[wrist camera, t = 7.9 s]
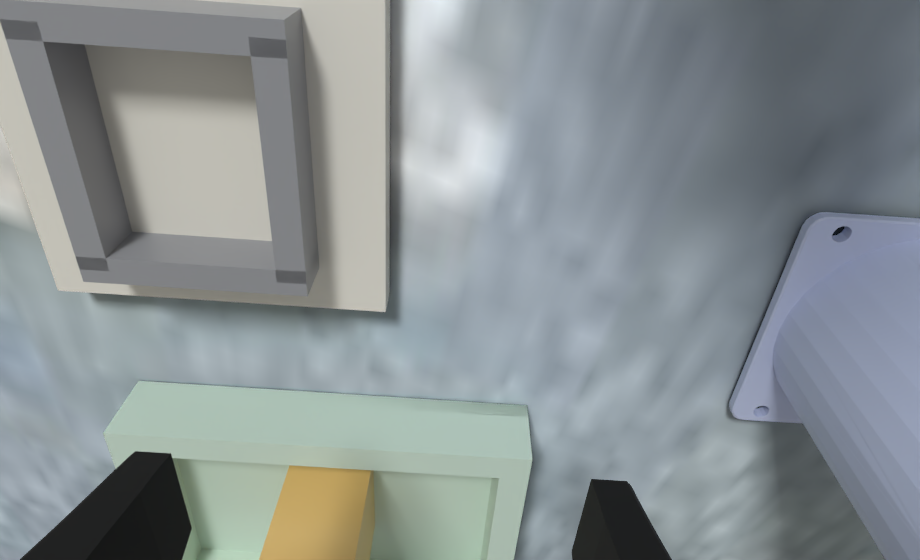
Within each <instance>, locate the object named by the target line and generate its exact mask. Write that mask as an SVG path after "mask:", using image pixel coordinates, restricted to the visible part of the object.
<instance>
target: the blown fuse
mask: <svg viewBox="0 0 920 560" xmlns="http://www.w3.org/2000/svg"><path fill="white" fill-rule="evenodd" d="M374 528H375V503H374V470H358V469H342V468H325V467H309V466H293V465H289V468H288V471H287V474H286V477H285V480H284V484H283V487H282V490H281V493H280V496H279V499H278V502H277V505H276V508H275V511H274V515H273V518H272V521H271V524H270V527H269V530H268V533H267V536H266V539H265V542H264V546H263V549H262V552H261V555H260V558H259V560H370V553H371V547H372V541H373V535H374Z"/></svg>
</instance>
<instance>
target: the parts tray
mask: <svg viewBox="0 0 920 560" xmlns="http://www.w3.org/2000/svg"><path fill="white" fill-rule="evenodd" d="M103 435H104V437H105V440H106V443H107V446H108V449H109V451H110V454H111V457H112V460H113V463H114V465H115V468H117V467H118V466H120V465H121V464H122V463H123V462H124V461H125V460H126V459H127V458H128V457H129V456H130V455H131V454H133V453H134V452H135V451H140V452H156V453H171V455H172V458H173V462H174V466H175V469H176V473H177V476H178V480H179V484H180V487H181V491H182V494H183V498H184V502H185V505H186V509H187V512H188V516H189V519H190V523H191V527H192V530H191V533H190V536H189V539H188V542H187V546H186V549H185V552H184V555H183V558H182V560H259V558H260V555H261V552H262V549H263V546H264V542H265V539H266V536H267V533H268V530H269V527H270V524H271V521H272V518H273V515H274V511H275V508H276V505H277V502H278V499H279V496H280V493H281V490H282V487H283V484H284V480H285V477H286V474H287V471H288V468H289V465H293V466H309V467H325V468H342V469H358V470H374V503H375V528H374V535H373V541H372V547H371V553H370V560H514V555H515V550H516V545H517V539H518V534H519V529H520V523H521V518H522V513H523V507H524V502H525V497H526V491H527V486H528V481H529V476H530V470H531V465H532V450H531V440H530V429H529V419H528V409H527V405H511V404H495V403H480V402H464V401H448V400H432V399H416V398H401V397H385V396H369V395H353V394H337V393H322V392H306V391H290V390H274V389H258V388H243V387H227V386H211V385H195V384H179V383H164V382H148V381H138V383H137V384H136V386H135V387H134V388H133V390H132V391H131V393H130V394H129V396H128V397H127V399H126V400H125V402H124V403H123V405H122V406H121V408H120V409H119V411H118V412H117V413H116V415H115V416H114V418H113V419H112V421H111V422H110V424H109V425H108V427H107V428H106V430H105V431H104V433H103Z"/></svg>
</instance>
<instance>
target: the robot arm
mask: <svg viewBox="0 0 920 560" xmlns="http://www.w3.org/2000/svg"><path fill="white" fill-rule="evenodd" d="M842 226H845V227H844V229H843V231H842V232H841V233H839V234H838V235H834V236H832V235H833V233H834V231H835V230H836V229H838V228H839V227H842ZM759 406H762V407H760V408H757V407H759ZM729 408H730V410H731V412H732V414H733V416H734V417H735V418H737V419H741V420H754V421H770V422H786V423H802V424H803V425H804V426H805V428H806V430H807V431H808V433H809V435H810V436H811V438H812V439H813V441H814V443H815V444H816V446H817V448H818V449H819V451H820V453H821V454H822V456H823V458H824V459H825V461H826V463H827V464H828V466H829V468H830V469H831V471H832V473H833V474H834V476H835V477H836V479H837V481H838V482H839V484H840V486H841V487H842V489H843V491H844V492H845V494H846V496H847V497H848V499H849V501H850V502H851V504H852V506H853V507H854V509H855V510H856V512H857V514H858V515H859V517H860V519H861V520H862V522H863V524H864V525H865V527H866V529H867V530H868V532H869V534H870V535H871V537H872V539H873V540H874V542H875V544H876V545H877V547H878V548H879V550H880V552H881V553H882V555H883V557H884V558H885V560H920V218H907V217H892V216H877V215H863V214H848V213H834V212H820V213H817V214H814V215H812V216H810V217H809V218H808V219H807V220H806V221H805V222H804V224H803V225H802V227H801V230H800V232H799V235H798V237H797V239H796V242H795V244H794V247H793V249H792V252H791V254H790V256H789V259H788V261H787V264H786V266H785V269H784V271H783V273H782V276H781V278H780V281H779V283H778V285H777V288H776V290H775V293H774V295H773V298H772V300H771V302H770V305H769V307H768V310H767V312H766V315H765V317H764V319H763V322H762V324H761V327H760V329H759V332H758V334H757V336H756V339H755V341H754V344H753V346H752V349H751V351H750V353H749V356H748V358H747V361H746V363H745V365H744V368H743V370H742V373H741V375H740V378H739V380H738V382H737V385H736V387H735V390H734V392H733V395H732V397H731V399H730V402H729ZM191 530H192V527H191V523H190V519H189V516H188V512H187V509H186V505H185V502H184V498H183V494H182V491H181V487H180V484H179V480H178V476H177V473H176V469H175V466H174V462H173V458H172V455H171V453H156V452H140V451H135V452H134V453H133V454H131V455H130V456H129V457H128V458H127V459H126V460H125V461H124V462H123V463H122V464H121V465H120V466H118V467H117V468H116V469H115V470H114V471H113V472H112V473H111V474H110V475H109V476H108V477H107V478H106V479H105V480H104V481H103V482H102V483H101V484H100V485H99V486H98V487H97V488H96V489H95V490H94V491H93V492H91V493H90V494H89V495H88V496H87V497H86V498H85V499H84V500H83V501H82V502H81V503H80V504H79V505H78V506H77V507H76V508H75V509H74V510H73V511H72V512H71V513H70V514H68V515H67V516H66V517H65V518H64V519H63V520H62V521H61V522H60V523H59V524H58V525H57V526H56V527H55V528H54V529H53V530H51V531H50V532H49V533H48V534H47V535H46V536H45V537H44V538H43V539H42V540H41V541H40V542H38V543H37V544H36V545H35V546H34V547H33V548H32V549H31V550H30V551H29V552H28V553H27V554H25V555H24V556H23V557H22V558H21V559H20V560H182V558H183V555H184V552H185V549H186V546H187V542H188V539H189V536H190V533H191ZM572 558H573V560H672V559H671V557H670V556H669V554H668V552H667V551H666V549H665V547H664V545H663V544H662V542H661V540H660V538H659V537H658V535H657V533H656V531H655V530H654V528H653V526H652V524H651V522H650V521H649V519H648V517H647V515H646V513H645V511H644V509H643V508H642V506H641V504H640V502H639V500H638V498H637V496H636V494H635V492H634V491H633V489H632V487H631V485H630V484H629V483H628V482H627V481H613V480H597V479H591V482H590V486H589V490H588V493H587V497H586V501H585V504H584V508H583V512H582V516H581V519H580V523H579V527H578V530H577V534H576V538H575V541H574V545H573V549H572Z"/></svg>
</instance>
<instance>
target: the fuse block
mask: <svg viewBox="0 0 920 560" xmlns="http://www.w3.org/2000/svg"><path fill="white" fill-rule="evenodd" d="M0 126H1V128H2V131H3V134H4V137H5V140H6V143H7V146H8V148H9V151H10V154H11V157H12V160H13V163H14V166H15V168H16V171H17V174H18V177H19V180H20V183H21V186H22V188H23V191H24V194H25V197H26V200H27V203H28V206H29V208H30V211H31V214H32V217H33V220H34V223H35V226H36V228H37V231H38V234H39V237H40V240H41V243H42V246H43V248H44V251H45V254H46V257H47V260H48V263H49V266H50V268H51V271H52V274H53V277H54V280H55V283H56V286H57V288H58V291H72V292H87V293H102V294H118V295H133V296H148V297H164V298H179V299H194V300H209V301H225V302H240V303H255V304H271V305H286V306H301V307H316V308H332V309H347V310H362V311H378V312H386V308H387V303H388V299H389V294H390V0H0Z"/></svg>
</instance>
